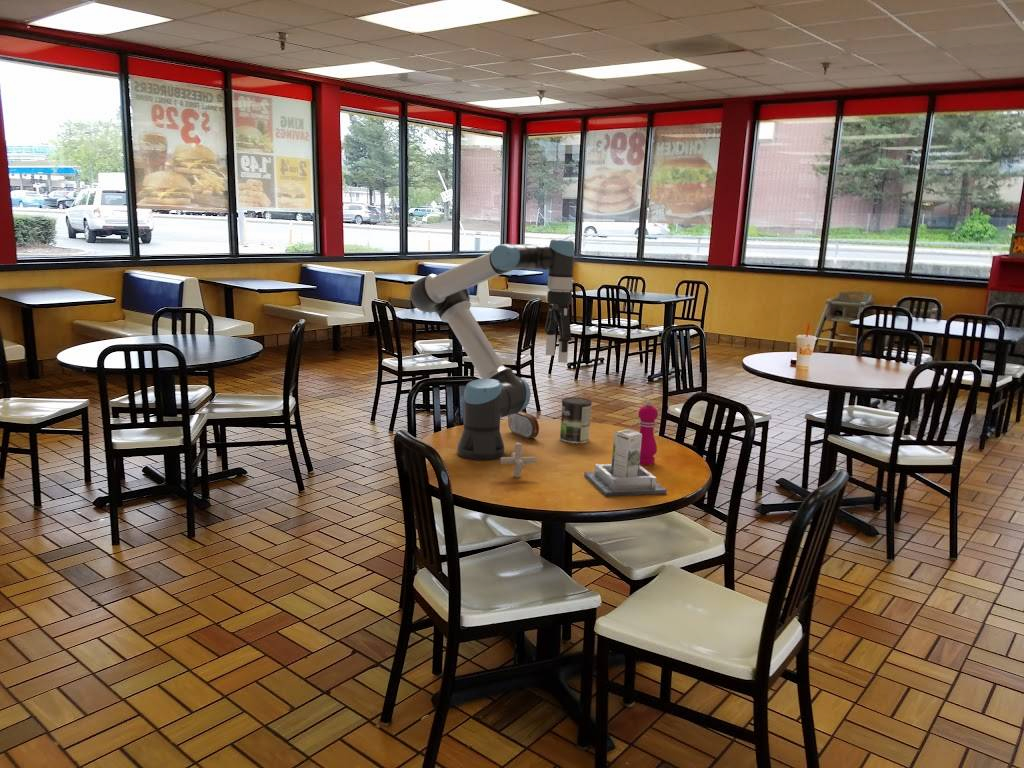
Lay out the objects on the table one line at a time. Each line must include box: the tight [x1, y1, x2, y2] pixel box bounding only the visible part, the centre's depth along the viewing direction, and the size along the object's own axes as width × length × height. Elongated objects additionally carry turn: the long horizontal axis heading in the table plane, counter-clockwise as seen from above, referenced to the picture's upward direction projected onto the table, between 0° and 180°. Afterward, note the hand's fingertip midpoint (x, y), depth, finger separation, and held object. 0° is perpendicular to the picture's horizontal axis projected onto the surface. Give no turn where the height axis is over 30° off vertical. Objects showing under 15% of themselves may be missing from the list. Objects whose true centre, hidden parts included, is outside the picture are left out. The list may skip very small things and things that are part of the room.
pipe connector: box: [499, 442, 536, 478], centre depth 219 cm, size 10×10×10 cm
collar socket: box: [583, 463, 668, 498], centre depth 216 cm, size 18×18×4 cm
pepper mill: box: [637, 400, 659, 466], centre depth 237 cm, size 7×7×20 cm
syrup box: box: [611, 429, 642, 477], centre depth 215 cm, size 6×6×14 cm
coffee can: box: [559, 396, 593, 444], centre depth 261 cm, size 10×10×14 cm
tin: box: [507, 410, 540, 439], centre depth 264 cm, size 15×3×8 cm, turn 37°
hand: (556, 358), depth 236 cm, fingers open, 13 cm apart
